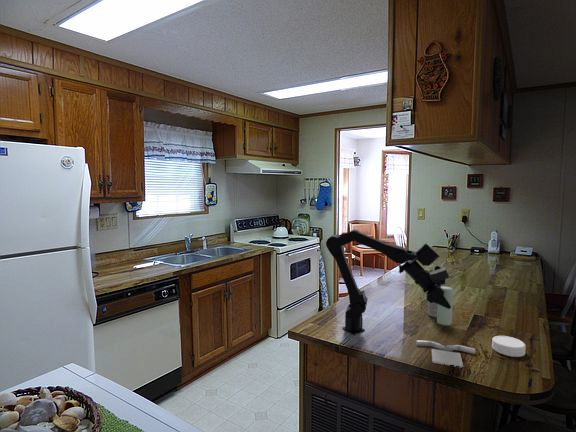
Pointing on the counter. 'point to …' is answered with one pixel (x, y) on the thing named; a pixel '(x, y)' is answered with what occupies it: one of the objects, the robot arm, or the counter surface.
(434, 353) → the tile
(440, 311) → the sage peg
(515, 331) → the counter surface
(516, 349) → the white thick disc
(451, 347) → the bent wire
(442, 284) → the spray can
